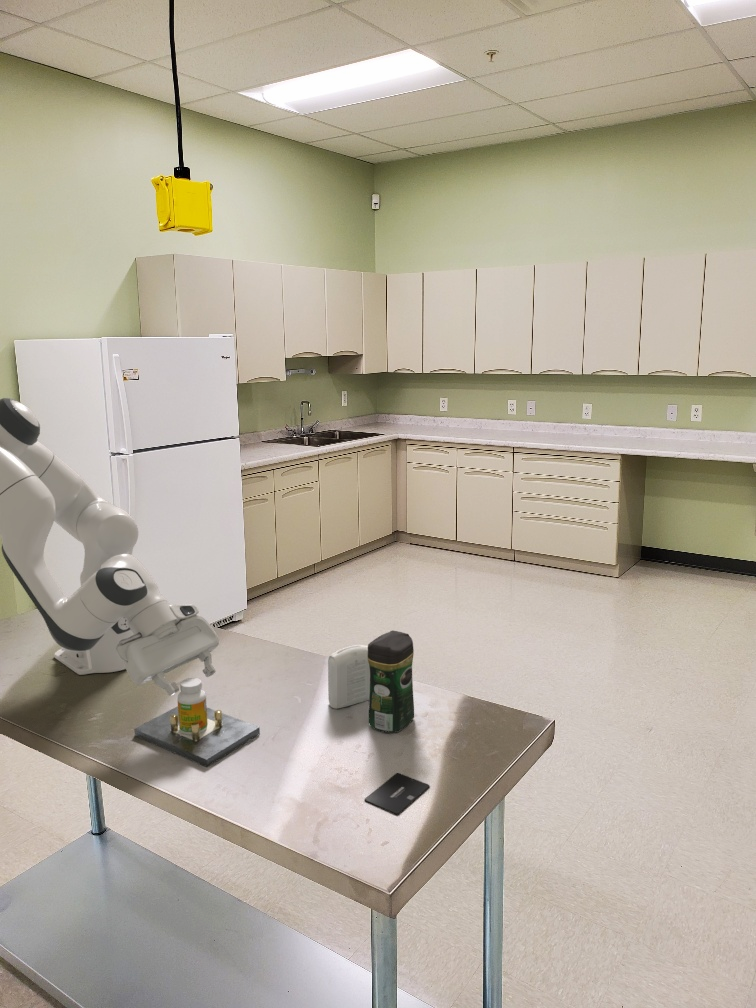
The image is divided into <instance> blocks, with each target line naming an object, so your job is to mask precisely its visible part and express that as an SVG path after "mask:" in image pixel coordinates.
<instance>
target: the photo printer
mask: <svg viewBox="0 0 756 1008" xmlns="http://www.w3.org/2000/svg"><path fill="white" fill-rule="evenodd" d="M367 657H368V645H366V644H354V645H350V646H344V648H340V649H338V650H337V651H334V652H333V653H331V654H330V655H329V656H328V659H327V668H328V669H327V672H328V673H327V682H328V683H327V686H328V687H327V688H328V696H327V697H328V704H329V706H330V707H331V708H333V709H343V708H345V707H350V706H353V705H356V704H359V703H363V702H366V701H369V695H370V667H369V663H368V658H367Z"/></svg>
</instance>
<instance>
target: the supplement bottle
mask: <svg viewBox="0 0 756 1008" xmlns="http://www.w3.org/2000/svg"><path fill="white" fill-rule="evenodd" d="M179 687H180V688H179V690H180V691H179V693H178V694H177V706H178V715H179V729H180V731H181V732H182V733H184V734H187V735H192V726H191V725H192V724H193V723H199V732H200V733H201V732H203V731H205V730H206V729H207V726H208V722H207V708H208V707H207V695H206V692H205V690H203V684H202V680H201V679H200V678H197V677H196V678H195V677H191V678H190V677H189V678H186V679H183V680H181V682H180V684H179Z"/></svg>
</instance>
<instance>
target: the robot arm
mask: <svg viewBox="0 0 756 1008" xmlns="http://www.w3.org/2000/svg"><path fill="white" fill-rule="evenodd" d="M40 434H41V425H40V422H39V421H38V418H37V417H36V415H35V414H34V412H33V411H32V410H31V409H30V408H29V407H28V406H26V405H25V404H24V403H22V402H19V401H18V400H16V399H14V398H8V397H3V398H0V539H1V552H2V556H3V558H4V560H5V562H6V563H7V566H8V567H9V568H10V570H11V571H12V573H13V575H14V576H15V578H16V579H17V581H18V583H20V585H21V587H22V589H23V590H24V591H25V593H26V594H27V595H28V597H29V598H30V600H31V602H32V603H33V605H34V606H35V607H36V608H37V611H38V612H39V614H40V615H41V617H42V618H43V621H44V623H45V625H46V627H47V629H48V632H49V634H50V636H51V637H52V639H53V640H54V641H55V643H56V644H57V645H58V646H60V647H61V648H59V649H58V650H56V651H55V652H54V655H53V656H54V658H55V659H56V660H57V661H59V662H60V663H61V664H63V665H64V666H65V667H67V668H68V669H70V670H71V671H73V672H74V673H76V674H77V675H80V676H81V675H82V676H84V675H89V674H98V673H99V674H102V673H104V674H105V673H113V672H114V673H115V672H119V671H124V670H126V673H127V674H128V676H129V678H130V680H131V681H132V683H133V684H135V685H138V686H141V685H143V684H146V683H148V682H150V681H153V683H154V685H155V686H158V687H160V688H162V689H163V690H165V692H166V693H167V694H168V696H169V697H171V696H174V695H175V694H177V693H178V692H180V688H179V685H177V683H176V682H175V681H174V682H170V681H169V680H167V678H165V677H166V674H167V673H169V672H171V671H173V670H175V669H178V668H180V667H182V666H184V665H186V664H188V663H190V662H193V661H195V660H197V659H199V660H200V662H203V664H204V665H203V667H204V668H203V669H202V673H203V674H204V677H206V678H209V677H211V676H214V674H216V668H215V666H214V665H213V664H212V663H213V660H212V659H213V658H212V652H213V651H215V649H217V647H218V646H219V644H220V638H219V635H218V634H217V632H216V631H215V629H214V628H213V627H212V625H211V624H210V622H209V621H208V620H207V619H206V618H205V617H204V616H202V615H199V611H200V610H199V608H198V606H197V605H196V604H170V602H169V600H168V599H167V598H165V597H164V596H163V595H162V594H161V592H160V590H159V586H158V584H157V583H156V581H155V580H154V578H153V577H152V575H151V574H150V572H149V571H148V570H147V568H145V566H144V565H143V564H142V563H141V562H140V561H139V560H138V559H137V558H136V557H135V556H134V555H133V550H134V547H135V546H136V544H137V542H138V538H139V528H138V525H137V523H136V521H135V520H134V518H133V517H132V516H131V515H130V514H129V513H128V512H127V511H126V510H124V509H123V508H121V507H118V506H116V505H114V504H113V503H111V502H109V501H107V500H106V499H105V498H103V497H102V496H100V495H99V493H98V492H96V491H95V490H94V489H93V488H92V487H91V486H90V485H89V484H88V483H87V482H86V481H85V480H84V479H83V478H82V476H81V475H79V474H78V472H76V471H75V470H74V469H72V468H71V466H69V465H68V464H67V463H66V462H65V461H63V460H62V459H61V458H60V457H58V456H57V455H56V454H55V453H54V452H53V451H52V450H50V449H49V448H48V447H47V446H46V445H44V444H43V443H41V442H40V441H38V438H39V436H40ZM54 522H55V523H56V524H57V525H58V526H59V527H60V528H62V529H63V530H64V531H66V532H67V533H68V534H69V535H71V536H72V537H73V538H74V539H75V540H76V541H78V542H80V543H81V544H82V545H83V548H84V559H83V567H82V571H81V572H80V575H79V580H80V581H79V582H80V587H79V588H78V589H77V590H76V591H74V592H73V593H72V594H71V595H70V596H69V597H68V596H67V595H66V594H65V593H64V591H63V589H62V588H61V587H60V585H59V583H58V582H57V580H56V579H55V578H54V575H52V573H51V572H50V570H49V568H48V567H47V565H46V563H45V555H44V553H45V552H44V551H45V546H46V542H47V541H48V536H49V534H50V532H51V529H52V527H53V525H54Z"/></svg>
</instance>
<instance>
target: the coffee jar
mask: <svg viewBox="0 0 756 1008" xmlns="http://www.w3.org/2000/svg"><path fill="white" fill-rule="evenodd" d="M367 646H368V657H367V658H368V663H369V667H370V695H369V700H368V725H369V726H370V727H371V728H373V729H374V730H376V731H378V732H382V733H395V734H396V733H398V732H400V731H402V730H404V729H405V728H406V727H407V726H408V725H410V724H411V722H412V721H413V720H414V718H415V702H414V701H415V699H414V689H413V688H414V683H413V682H414V681H413V662H414V661H413V660H414V652H415V651H414V642H413V639H412V637H411V636H410V634H409V633H405V632H402V631H398V630H390V631H387V632H385V633H384V634H383V633H382V634H381V635H380V636H377V637H376V638H374V639H373V640H372V641H370V642H369V643H368V645H367Z"/></svg>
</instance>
